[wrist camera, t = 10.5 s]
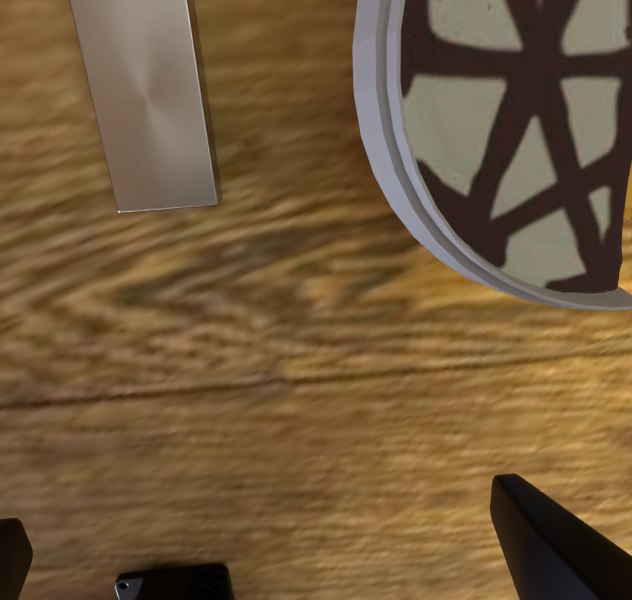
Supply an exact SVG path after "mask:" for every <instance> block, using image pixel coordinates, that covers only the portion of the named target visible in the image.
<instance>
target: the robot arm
mask: <svg viewBox="0 0 632 600" xmlns="http://www.w3.org/2000/svg"><path fill="white" fill-rule="evenodd" d="M490 513H491V518H492V522H493V525H494V527H495V530H496V533H497V536H498V539H499V542H500V545H501V548H502V550H503V553H504V556H505V559H506V562H507V565H508V568H509V571H510V573H511V576H512V579H513V582H514V585H515V588H516V591H517V593H518V596H519V599H520V600H632V556H631V555H629V554H628V553H627V552H625V551H624V550H622V549H621V548H620V547H618V546H617V545H615V544H614V543H613V542H611V541H610V540H608V539H607V538H606V537H604V536H603V535H601V534H600V533H599V532H597V531H596V530H595V529H593V528H592V527H590V526H589V525H588V524H586V523H585V522H583V521H582V520H581V519H579V518H578V517H576V516H575V515H574V514H572V513H571V512H569V511H568V510H567V509H565V508H564V507H562V506H561V505H560V504H558V503H557V502H555V501H554V500H553V499H551V498H550V497H548V496H547V495H546V494H544V493H543V492H541V491H540V490H539V489H537V488H536V487H534V486H533V485H532V484H530V483H529V482H527V481H526V480H525V479H523V478H522V477H520V476H519V475H517V474H513V473H512V474H501V475H496V476H494V478H493V481H492V491H491V503H490ZM32 557H33V551H32V547H31V544H30V542H29V539H28V537H27V534H26V532H25V529H24V527H23V525H22V522H21V521H20V520H19V519H17V518H8V519H0V600H18V598H19V595H20V593H21V590H22V587H23V584H24V582H25V579H26V576H27V574H28V571H29V568H30V565H31V562H32ZM115 589H116V592H117V595H118V598H119V600H234V595H233V590H232V585H231V580H230V575H229V570H228V568H227V567H226V566H224V565H211V566H200V567H189V568H178V569H167V570H157V571H146V572H135V573H124V574H120V575H119V576H118V577H117V580H116V582H115Z"/></svg>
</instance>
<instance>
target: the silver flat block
mask: <svg viewBox="0 0 632 600" xmlns="http://www.w3.org/2000/svg"><path fill="white" fill-rule="evenodd" d="M69 1H70V5H71V10H72V14H73V18H74V23H75V27H76V31H77V36H78V40H79V44H80V49H81V53H82V57H83V62H84V66H85V71H86V75H87V79H88V84H89V88H90V92H91V97H92V101H93V105H94V110H95V114H96V118H97V123H98V127H99V131H100V136H101V140H102V144H103V149H104V153H105V157H106V162H107V166H108V170H109V175H110V179H111V184H112V188H113V192H114V197H115V201H116V205H117V210H118V212H119V213H125V212H137V211H150V210H162V209H175V208H187V207H200V206H212V205H218V204H219V203H220V202H221V201H222V193H221V187H220V180H219V173H218V166H217V159H216V152H215V145H214V138H213V132H212V125H211V118H210V111H209V104H208V97H207V90H206V83H205V77H204V70H203V63H202V56H201V49H200V42H199V35H198V28H197V22H196V15H195V8H194V1H193V0H69Z"/></svg>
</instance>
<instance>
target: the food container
mask: <svg viewBox="0 0 632 600" xmlns="http://www.w3.org/2000/svg"><path fill="white" fill-rule="evenodd" d="M352 51H353V89H354V99H355V104H356V110H357V116H358V122H359V128H360V133H361V138H362V141H363V144H364V147H365V150H366V153H367V156H368V159H369V162H370V165H371V168H372V170H373V173H374V176H375V178H376V180H377V181H378V183H379V185H380V187H381V189H382V191H383V193H384V195H385V197H386V199H387V200H388V202H389V204H390V206H391V208H392V209H393V211H394V212H395V213H396V215H397V216H398V217H399V219H400V220H401V221H402V223H403V224H404V225H405V226H406V228H407V229H408V230H409V232H410V233H411V234H412V236H413V237H414V238H415V239H416V240H418V241H419V242H420V243H421V244H422V245H423V246H424V247H425V248H426V249H427V250H428V251H429V252H430V253H432V254H433V255H434V256H435V257H436V258H437V259H438V260H440V261H441V262H443V263H444V264H446V265H447V266H449V267H450V268H452V269H453V270H455V271H457V272H458V273H460V274H461V275H463V276H464V277H466V278H468V279H470V280H473V281H475V282H477V283H480V284H482V285H485V286H487V287H489V288H492V289H494V290H496V291H499V292H502V293H506V294H509V295H512V296H515V297H518V298H521V299H524V300H528V301H532V302H536V303H540V304H544V305H548V306H552V307H556V308H568V309H580V310H610V311H616V310H631V309H632V295H630V294H629V293H627V292H626V291H625V290H623V289H622V288H620V287H619V286H618V280H619V271H620V268H621V264H622V249H621V246H622V226H623V218H624V211H625V203H626V195H627V187H628V179H629V174H630V169H631V163H632V0H358V2H357V11H356V20H355V29H354V37H353V46H352Z"/></svg>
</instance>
